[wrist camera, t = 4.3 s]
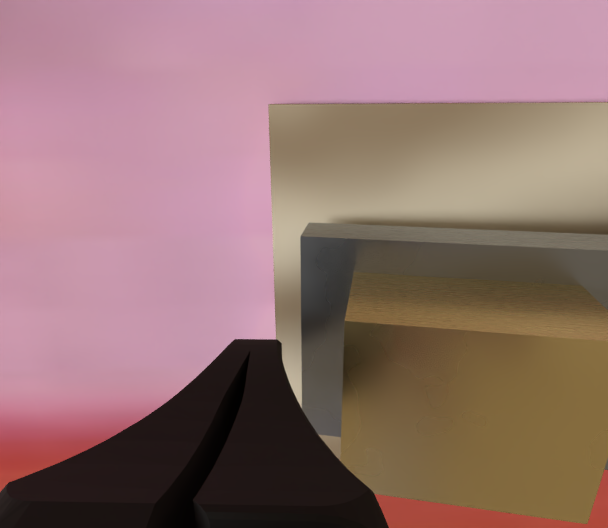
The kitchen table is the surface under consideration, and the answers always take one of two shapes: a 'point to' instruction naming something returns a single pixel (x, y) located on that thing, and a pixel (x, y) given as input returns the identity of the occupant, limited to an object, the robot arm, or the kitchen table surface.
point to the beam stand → (428, 178)
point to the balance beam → (418, 262)
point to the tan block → (476, 393)
